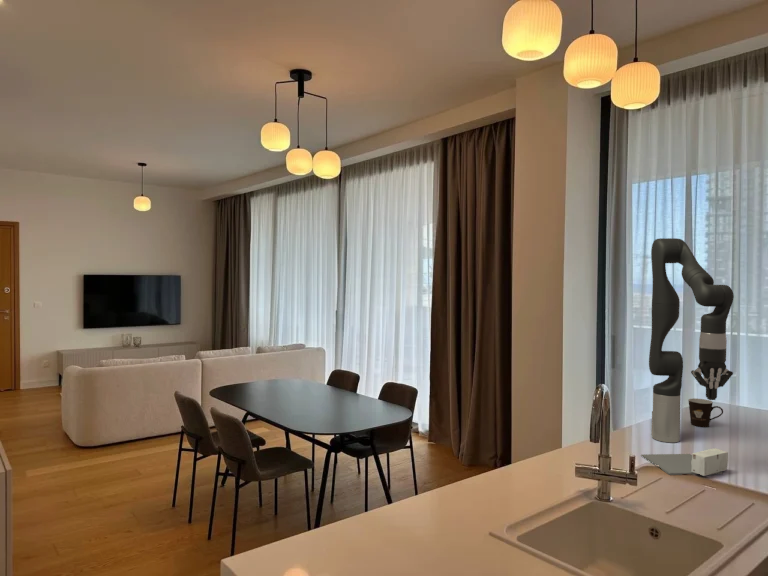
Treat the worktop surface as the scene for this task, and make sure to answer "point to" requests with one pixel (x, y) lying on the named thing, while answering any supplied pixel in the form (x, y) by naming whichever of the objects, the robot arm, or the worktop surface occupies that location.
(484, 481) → the worktop surface
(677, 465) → the mat
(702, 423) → the coffee mug
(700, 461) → the skincare box
